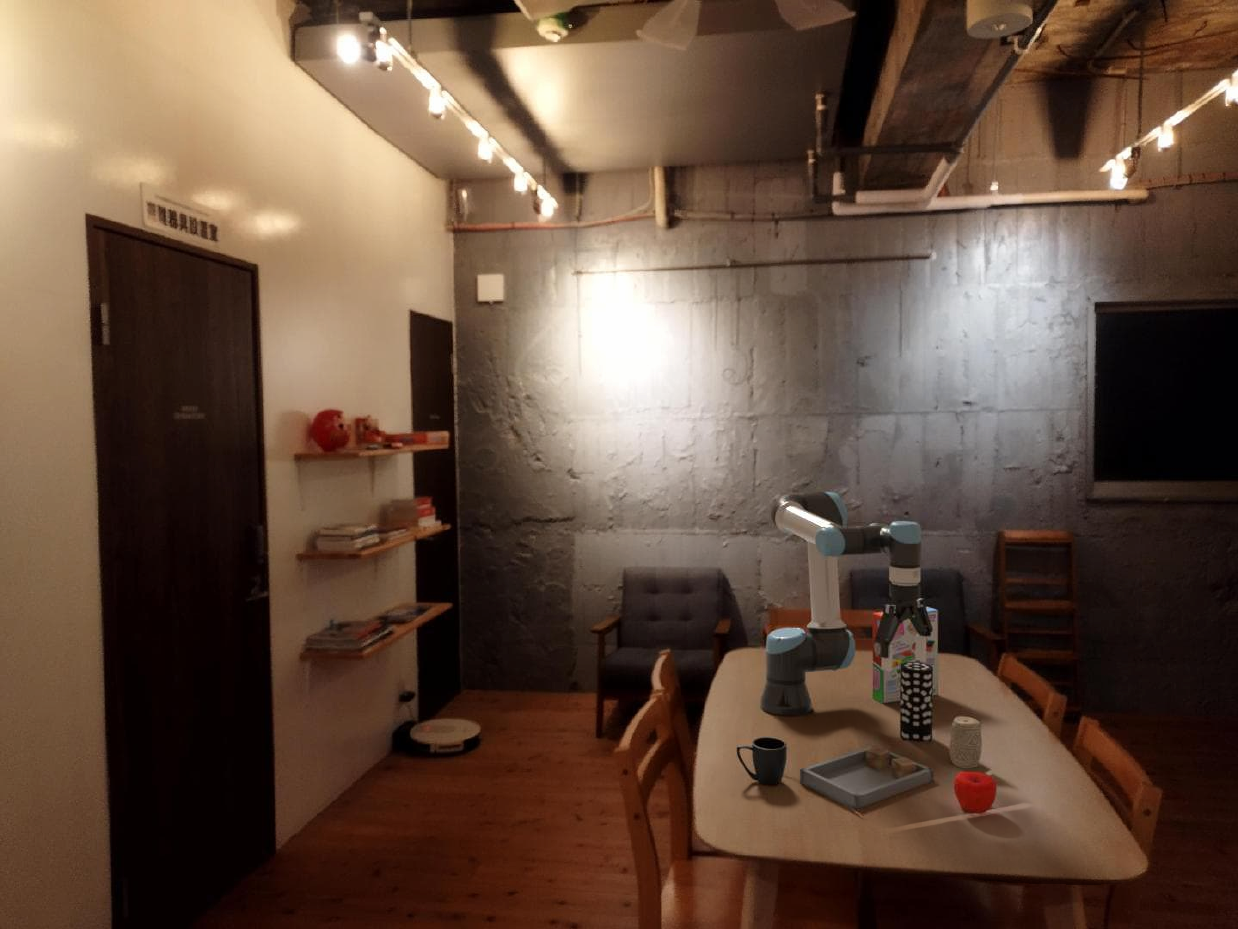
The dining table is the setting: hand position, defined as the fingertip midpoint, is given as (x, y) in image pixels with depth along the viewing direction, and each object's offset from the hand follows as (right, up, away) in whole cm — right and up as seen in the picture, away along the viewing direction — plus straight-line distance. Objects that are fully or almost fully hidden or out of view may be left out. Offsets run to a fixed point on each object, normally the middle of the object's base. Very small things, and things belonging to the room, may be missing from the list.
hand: (904, 665), depth 220 cm
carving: (+14, -25, -4) cm, 29 cm away
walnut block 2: (-4, -24, -12) cm, 27 cm away
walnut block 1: (-8, -24, -5) cm, 26 cm away
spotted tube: (+8, -24, +15) cm, 29 cm away
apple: (+7, -26, -27) cm, 39 cm away
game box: (+16, -22, +49) cm, 56 cm away
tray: (-13, -25, -13) cm, 31 cm away
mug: (-38, -26, -11) cm, 47 cm away
